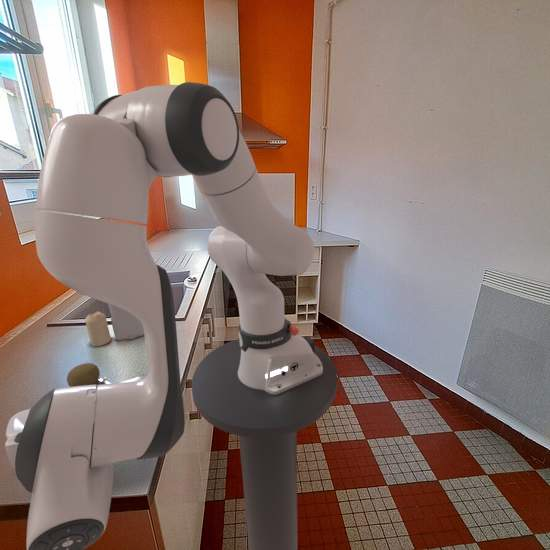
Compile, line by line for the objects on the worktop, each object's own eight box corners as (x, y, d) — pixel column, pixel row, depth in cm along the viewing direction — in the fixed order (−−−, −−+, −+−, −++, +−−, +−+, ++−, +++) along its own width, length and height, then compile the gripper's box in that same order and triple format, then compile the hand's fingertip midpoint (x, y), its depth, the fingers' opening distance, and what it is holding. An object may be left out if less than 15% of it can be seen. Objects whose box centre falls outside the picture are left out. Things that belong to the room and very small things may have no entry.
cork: (118, 407, 61) (107, 361, 57) (92, 430, 56) (77, 381, 52) (97, 400, 63) (84, 356, 60) (69, 422, 58) (53, 374, 54)
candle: (105, 335, 99) (98, 307, 96) (114, 340, 96) (107, 312, 93) (88, 343, 95) (80, 314, 92) (96, 348, 92) (88, 319, 89)
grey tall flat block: (149, 329, 102) (137, 268, 94) (149, 335, 98) (137, 271, 91) (114, 336, 98) (99, 272, 91) (113, 342, 95) (97, 277, 87)
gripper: (149, 397, 50) (142, 355, 61) (-11, 449, 41) (16, 389, 53) (155, 427, 52) (147, 380, 63) (4, 482, 43) (27, 417, 55)
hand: (87, 384), depth 58 cm, fingers closed on cork, 4 cm apart
